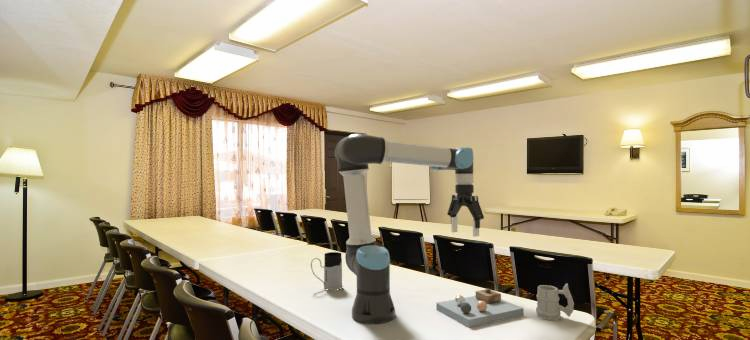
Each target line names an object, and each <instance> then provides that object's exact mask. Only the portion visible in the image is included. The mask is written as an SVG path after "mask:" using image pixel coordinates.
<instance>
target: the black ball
mask: <svg viewBox="0 0 750 340" xmlns="http://www.w3.org/2000/svg"><path fill="white" fill-rule="evenodd" d="M461 311H462V312H463V313H466V314H467V313H469V312H470V311H471V306H470V304H469V303H466V302H464V303H462V304H461Z"/></svg>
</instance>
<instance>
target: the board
mask: <svg viewBox="0 0 750 340" xmlns="http://www.w3.org/2000/svg"><path fill="white" fill-rule="evenodd" d="M464 299H465V302H466V303H469V304H470V306H471V311H470V312H469V313H467V314H466V313H463V312H462V311H461V306H459V305H457V304H456V302H455V299H451V300H450V299H449V300H445V301H444V300H443V301H440V302H436V304H435V305H436V311H438V312H440V313H441V314H443V315H445V316H447V317H449V318H451V319H452V320H453V321H456V322H458V323H459V324H461V325H462V326H465V327H466V328H468V329H469V328H473V327H478V326H482V325H487V324H492V323H496V322H500V321H505V320H509V319H513V318H519V317H524V316H525V314H524V313H525V310H524V307H522V306H519V305H518V304H517V305H516V304H514V303H511V302H509V301H507V300H504V299H502V298H501V301H496V302H491V303H486V304H487V309H486V311H483V312H481V311H479V310H478V309H477V303H478V302H479V301H481V300H479V299H477V298H476V295H473V296H467V297H464Z"/></svg>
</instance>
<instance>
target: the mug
mask: <svg viewBox="0 0 750 340" xmlns="http://www.w3.org/2000/svg"><path fill="white" fill-rule="evenodd" d="M562 287H563V288H562V289H559V288H558V287H556V286H553V285H547V284H545V285H544V284H542V285H541V284H540V285H537V294H536V300H537V302H536V305H537V306H536V307H535V311H536V315H537V317H538V318H540V319H543V320H547V321H557V320H560V317H561V315H562V313H561V312H563V313H564V314H565V315H566V316H567V317H571V315H572V314H573V313H574V306H575V302H574V300H573V296H572V294H571V291H570V289H569V284H568V283H565V285H564V286H562ZM559 294H561V295H564V297H565V298H566V299H567V305H566V306H565V307H564V306H563V305H561V304H560V303H559V301H560V296H559Z"/></svg>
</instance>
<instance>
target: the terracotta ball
mask: <svg viewBox="0 0 750 340" xmlns="http://www.w3.org/2000/svg"><path fill="white" fill-rule="evenodd" d="M477 309H478V310H479V311H481V312H483V311H486V309H487V304H486V302H484V301H479V302H478V303H477Z"/></svg>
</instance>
